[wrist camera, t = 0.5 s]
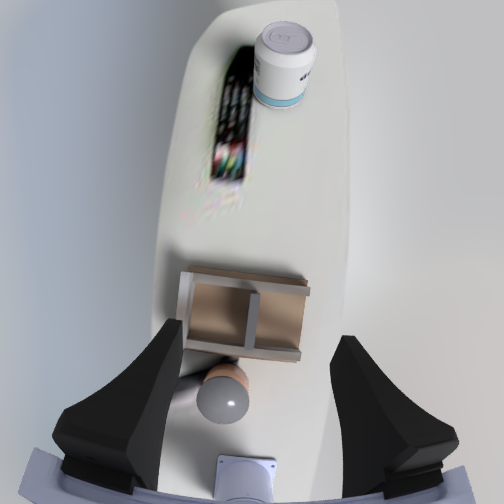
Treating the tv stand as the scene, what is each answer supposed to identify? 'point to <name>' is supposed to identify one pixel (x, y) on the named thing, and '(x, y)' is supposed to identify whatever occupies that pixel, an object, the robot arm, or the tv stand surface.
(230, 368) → the jar
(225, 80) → the tv stand surface
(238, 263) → the tv stand surface
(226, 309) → the tray
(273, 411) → the tv stand surface
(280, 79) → the beverage can
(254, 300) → the pusher plate
